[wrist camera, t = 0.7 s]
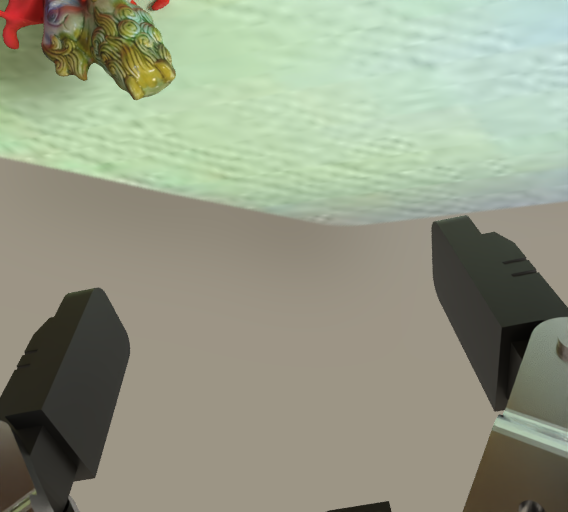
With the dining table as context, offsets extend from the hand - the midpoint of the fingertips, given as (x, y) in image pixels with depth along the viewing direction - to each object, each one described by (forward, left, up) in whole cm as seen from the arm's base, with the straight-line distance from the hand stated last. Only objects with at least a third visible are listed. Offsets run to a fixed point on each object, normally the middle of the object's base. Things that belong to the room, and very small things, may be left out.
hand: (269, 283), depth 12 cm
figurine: (-2, -10, -26) cm, 28 cm away
